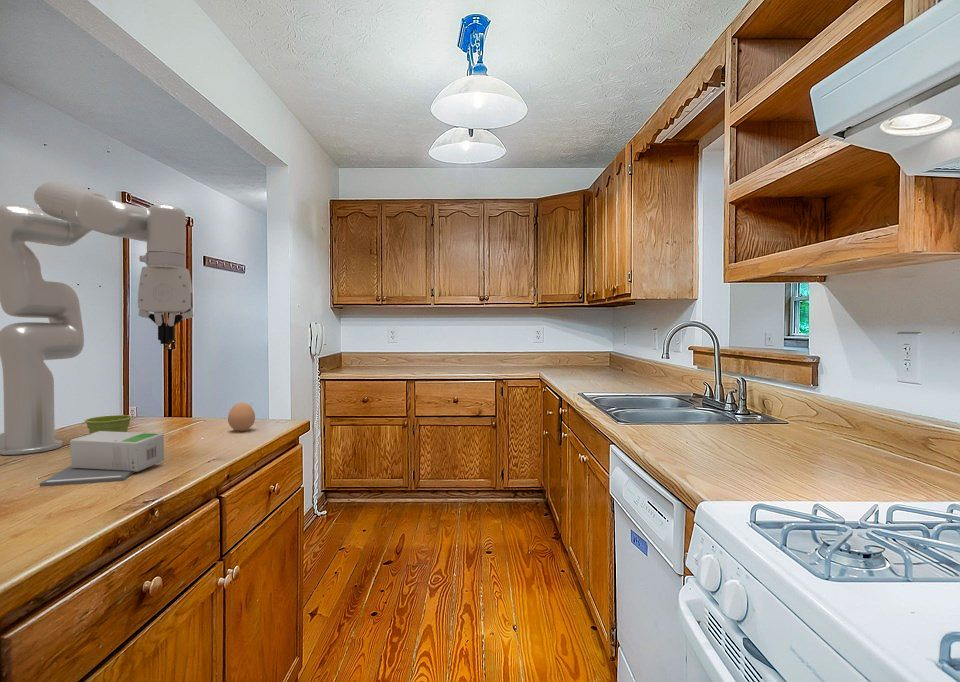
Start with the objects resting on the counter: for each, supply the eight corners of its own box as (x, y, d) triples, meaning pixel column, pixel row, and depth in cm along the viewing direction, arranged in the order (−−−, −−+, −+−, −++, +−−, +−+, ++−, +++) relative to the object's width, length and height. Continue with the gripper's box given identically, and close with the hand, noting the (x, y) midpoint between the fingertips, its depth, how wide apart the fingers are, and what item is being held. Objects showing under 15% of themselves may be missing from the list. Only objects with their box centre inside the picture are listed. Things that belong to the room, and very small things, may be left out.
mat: (39, 486, 101) (39, 482, 101) (69, 468, 113) (69, 465, 113) (123, 480, 105) (123, 477, 105) (143, 464, 117) (143, 461, 117)
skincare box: (137, 443, 109) (67, 439, 110) (138, 474, 109) (69, 469, 111) (164, 432, 117) (100, 429, 118) (165, 461, 118) (101, 457, 119)
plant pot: (86, 460, 120) (86, 423, 120) (83, 453, 127) (82, 417, 127) (135, 454, 127) (134, 418, 126) (129, 447, 134) (128, 413, 133)
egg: (237, 434, 150) (237, 405, 150) (222, 431, 154) (222, 402, 154) (260, 430, 156) (260, 402, 156) (245, 427, 160) (245, 400, 160)
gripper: (122, 258, 112) (122, 344, 112) (200, 262, 116) (199, 344, 117) (134, 262, 119) (134, 342, 119) (206, 265, 123) (206, 343, 124)
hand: (166, 343), depth 118 cm, fingers closed
